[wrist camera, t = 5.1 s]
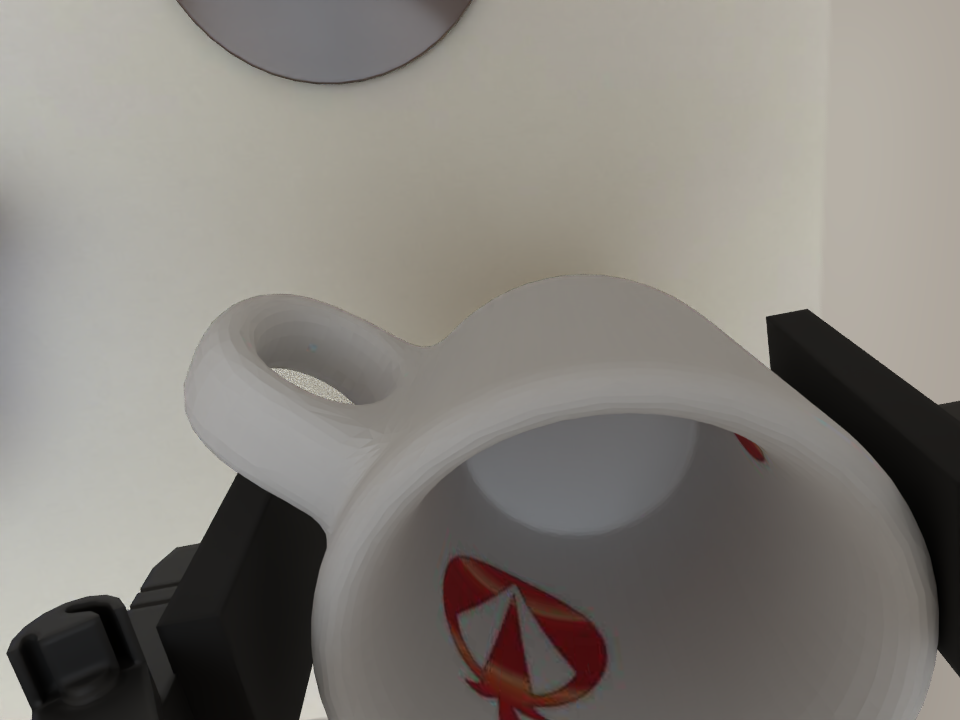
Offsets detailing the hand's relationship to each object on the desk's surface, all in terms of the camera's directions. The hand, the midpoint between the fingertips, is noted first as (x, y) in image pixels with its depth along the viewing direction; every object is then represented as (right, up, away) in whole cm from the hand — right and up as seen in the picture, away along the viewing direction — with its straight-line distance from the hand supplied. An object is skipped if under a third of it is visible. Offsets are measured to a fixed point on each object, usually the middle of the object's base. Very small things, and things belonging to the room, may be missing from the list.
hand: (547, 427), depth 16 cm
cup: (-1, +1, +2) cm, 2 cm away
